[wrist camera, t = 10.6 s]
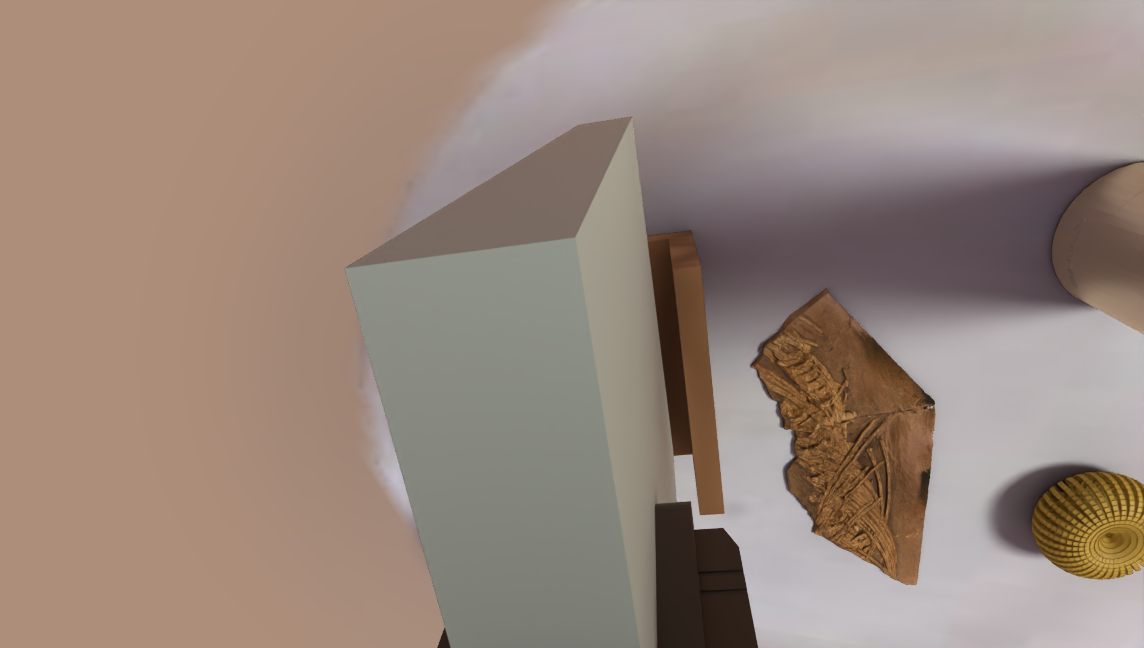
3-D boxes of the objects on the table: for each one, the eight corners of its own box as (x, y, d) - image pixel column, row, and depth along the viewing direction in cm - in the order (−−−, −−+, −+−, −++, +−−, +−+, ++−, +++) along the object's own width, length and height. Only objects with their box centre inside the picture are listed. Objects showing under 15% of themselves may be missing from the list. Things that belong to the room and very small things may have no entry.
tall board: (632, 116, 24) (575, 236, 5) (673, 450, 28) (720, 1150, 10) (578, 125, 24) (345, 268, 6) (627, 454, 29) (588, 1139, 10)
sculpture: (1092, 610, 46) (1027, 538, 44) (1058, 570, 50) (997, 502, 48) (1209, 551, 43) (1144, 472, 42) (1165, 513, 47) (1104, 439, 46)
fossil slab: (736, 313, 45) (738, 319, 44) (903, 264, 43) (909, 269, 42) (822, 597, 53) (825, 607, 52) (967, 569, 51) (973, 579, 50)
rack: (690, 230, 43) (701, 266, 35) (711, 441, 49) (724, 513, 41) (457, 261, 46) (418, 300, 38) (502, 458, 51) (476, 529, 43)
